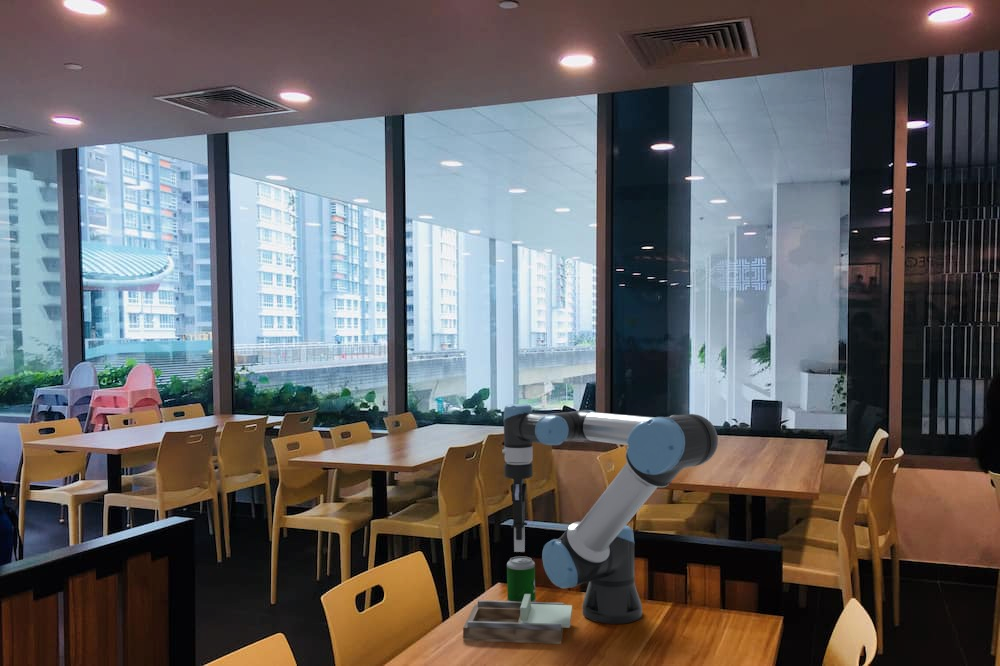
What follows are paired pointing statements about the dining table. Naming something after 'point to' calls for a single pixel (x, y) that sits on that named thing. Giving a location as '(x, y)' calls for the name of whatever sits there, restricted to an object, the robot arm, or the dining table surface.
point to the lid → (545, 613)
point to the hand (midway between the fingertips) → (519, 550)
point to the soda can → (520, 578)
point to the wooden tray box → (508, 624)
